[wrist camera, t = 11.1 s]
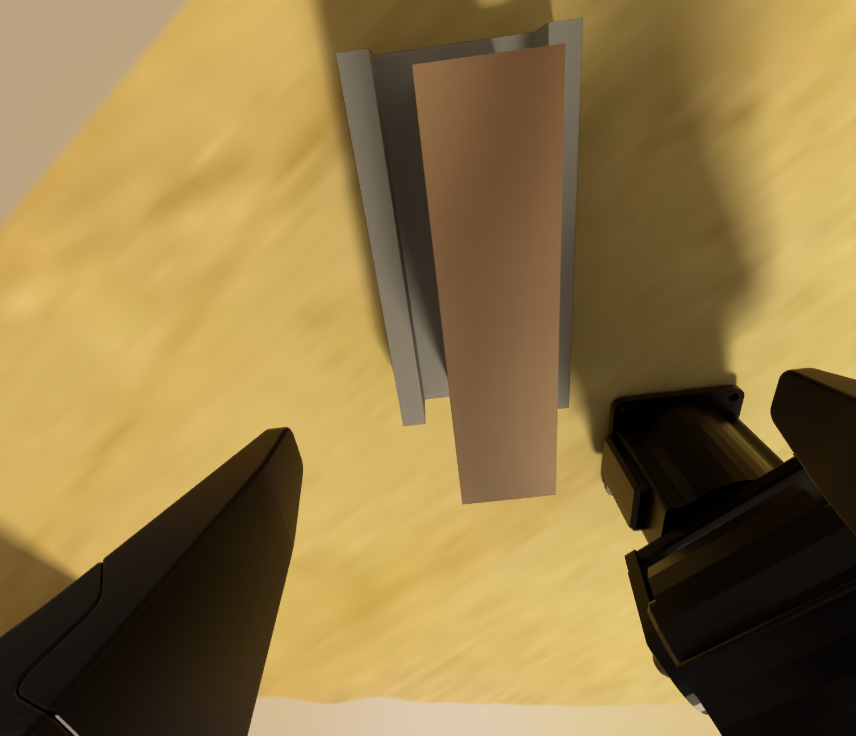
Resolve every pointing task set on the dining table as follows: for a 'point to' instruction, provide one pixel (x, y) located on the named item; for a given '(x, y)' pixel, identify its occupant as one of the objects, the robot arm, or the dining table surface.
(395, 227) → the display ledge
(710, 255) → the dining table surface
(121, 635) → the robot arm
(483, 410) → the brown flat block
